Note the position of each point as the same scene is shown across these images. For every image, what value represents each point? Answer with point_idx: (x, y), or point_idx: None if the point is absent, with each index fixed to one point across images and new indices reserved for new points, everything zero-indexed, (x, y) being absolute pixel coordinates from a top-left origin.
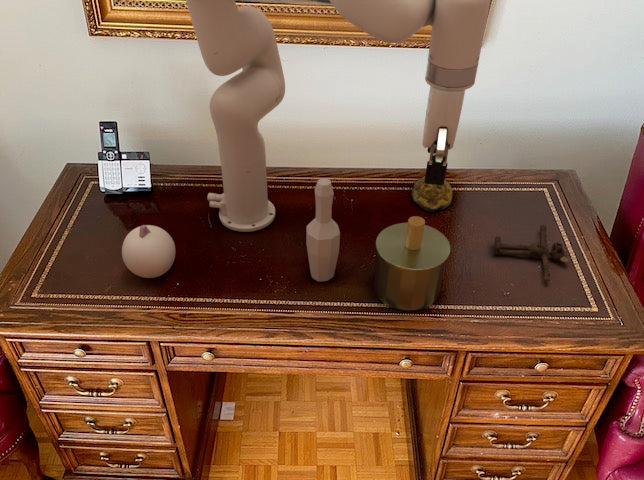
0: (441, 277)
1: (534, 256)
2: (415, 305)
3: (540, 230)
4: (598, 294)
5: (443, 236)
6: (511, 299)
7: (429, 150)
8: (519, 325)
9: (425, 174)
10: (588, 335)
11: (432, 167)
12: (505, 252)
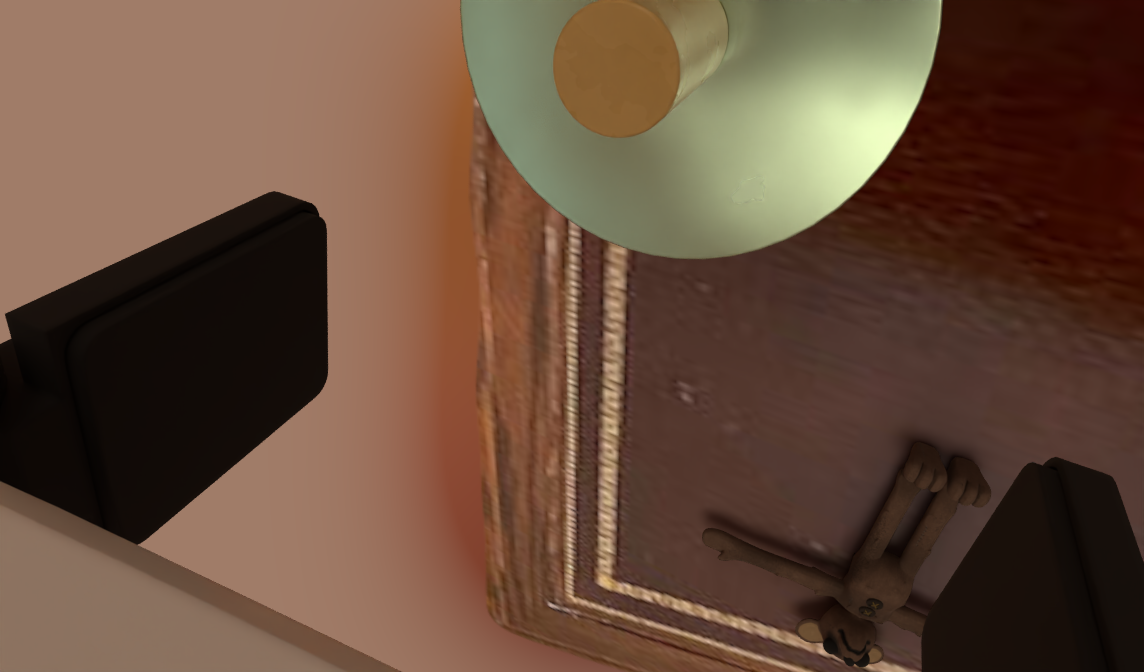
0: None
1: (852, 561)
2: None
3: None
4: (665, 621)
5: (742, 244)
6: (654, 395)
7: (1029, 493)
8: (536, 370)
9: (218, 231)
10: (507, 518)
11: (2, 350)
12: (900, 483)
